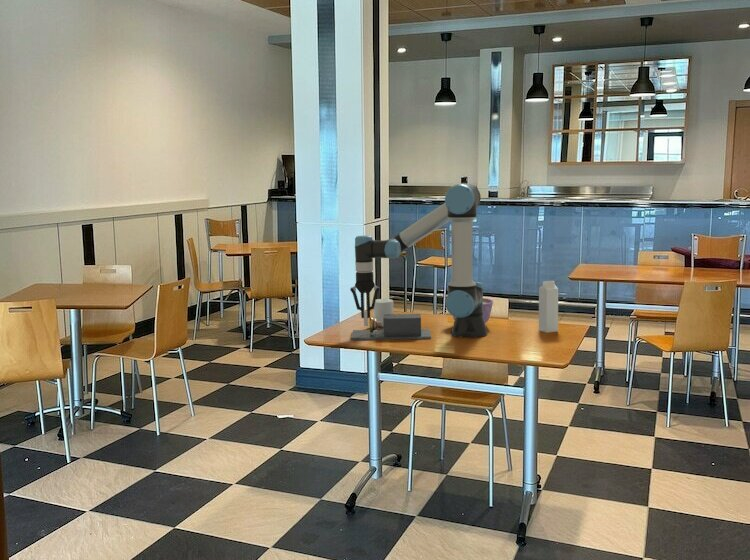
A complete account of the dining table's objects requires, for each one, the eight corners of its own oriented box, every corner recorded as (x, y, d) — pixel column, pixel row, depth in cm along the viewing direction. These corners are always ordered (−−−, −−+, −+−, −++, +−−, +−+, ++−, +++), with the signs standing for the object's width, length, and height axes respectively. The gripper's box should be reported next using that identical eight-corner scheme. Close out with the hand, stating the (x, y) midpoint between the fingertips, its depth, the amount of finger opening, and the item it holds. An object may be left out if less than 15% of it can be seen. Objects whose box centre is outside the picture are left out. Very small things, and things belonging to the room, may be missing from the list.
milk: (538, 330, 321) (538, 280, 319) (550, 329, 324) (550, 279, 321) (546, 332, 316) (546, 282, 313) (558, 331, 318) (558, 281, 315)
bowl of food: (490, 321, 344) (490, 297, 342) (496, 330, 324) (496, 304, 322) (447, 322, 344) (447, 297, 343) (451, 331, 325) (450, 305, 323)
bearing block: (350, 340, 311) (350, 320, 310) (353, 332, 327) (352, 313, 326) (430, 338, 310) (430, 319, 308) (429, 331, 325) (429, 312, 324)
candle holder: (394, 328, 334) (393, 302, 332) (372, 328, 334) (371, 302, 332) (393, 323, 343) (393, 298, 342) (373, 324, 344) (372, 299, 342)
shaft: (369, 334, 315) (369, 319, 314) (370, 330, 322) (370, 316, 321) (419, 333, 314) (419, 318, 313) (419, 330, 321) (419, 315, 320)
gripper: (379, 270, 318) (381, 323, 321) (349, 270, 319) (351, 323, 322) (379, 272, 311) (380, 326, 314) (348, 273, 311) (350, 327, 315)
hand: (366, 325), depth 318 cm, fingers closed
